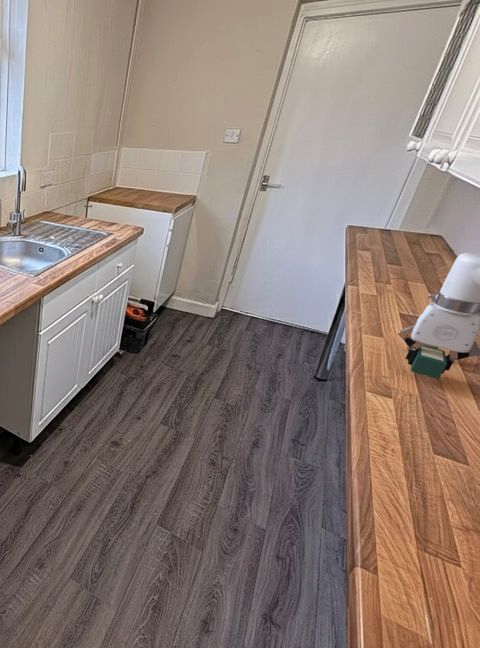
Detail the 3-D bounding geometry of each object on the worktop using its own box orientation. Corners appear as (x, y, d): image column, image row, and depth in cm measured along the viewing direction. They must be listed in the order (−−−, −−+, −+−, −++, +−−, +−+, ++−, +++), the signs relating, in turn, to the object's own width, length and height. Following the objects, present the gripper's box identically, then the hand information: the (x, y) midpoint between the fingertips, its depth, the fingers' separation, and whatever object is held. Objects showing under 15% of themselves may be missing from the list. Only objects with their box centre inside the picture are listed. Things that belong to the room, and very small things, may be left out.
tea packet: (438, 379, 103) (447, 363, 101) (410, 371, 106) (418, 356, 104) (437, 365, 108) (445, 350, 107) (410, 357, 112) (418, 343, 110)
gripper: (408, 298, 103) (379, 359, 110) (515, 320, 92) (475, 387, 99) (409, 289, 108) (381, 349, 115) (510, 309, 97) (472, 374, 104)
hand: (425, 366), depth 107 cm, fingers closed on tea packet, 5 cm apart
